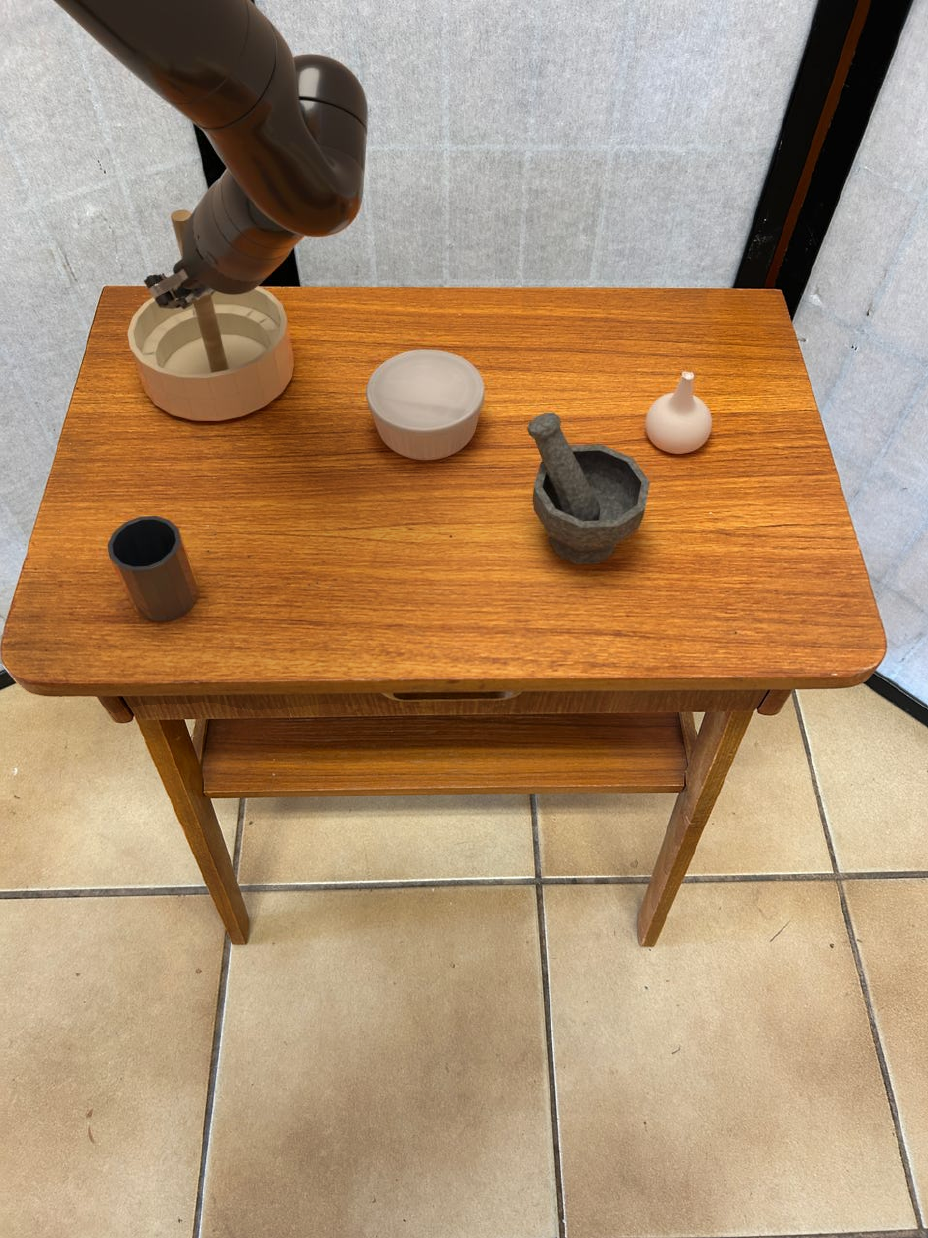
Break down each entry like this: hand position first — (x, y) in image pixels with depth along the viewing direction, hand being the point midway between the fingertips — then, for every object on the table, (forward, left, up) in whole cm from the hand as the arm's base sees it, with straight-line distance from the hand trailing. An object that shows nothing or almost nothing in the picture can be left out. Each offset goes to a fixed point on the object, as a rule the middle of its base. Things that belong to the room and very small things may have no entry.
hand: (190, 292), depth 92 cm
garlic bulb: (+42, -24, -9) cm, 49 cm away
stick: (+1, -2, -8) cm, 8 cm away
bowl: (+1, -2, -9) cm, 9 cm away
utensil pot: (-8, -29, -9) cm, 31 cm away
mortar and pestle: (+28, -33, -9) cm, 44 cm away
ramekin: (+19, -16, -9) cm, 26 cm away
